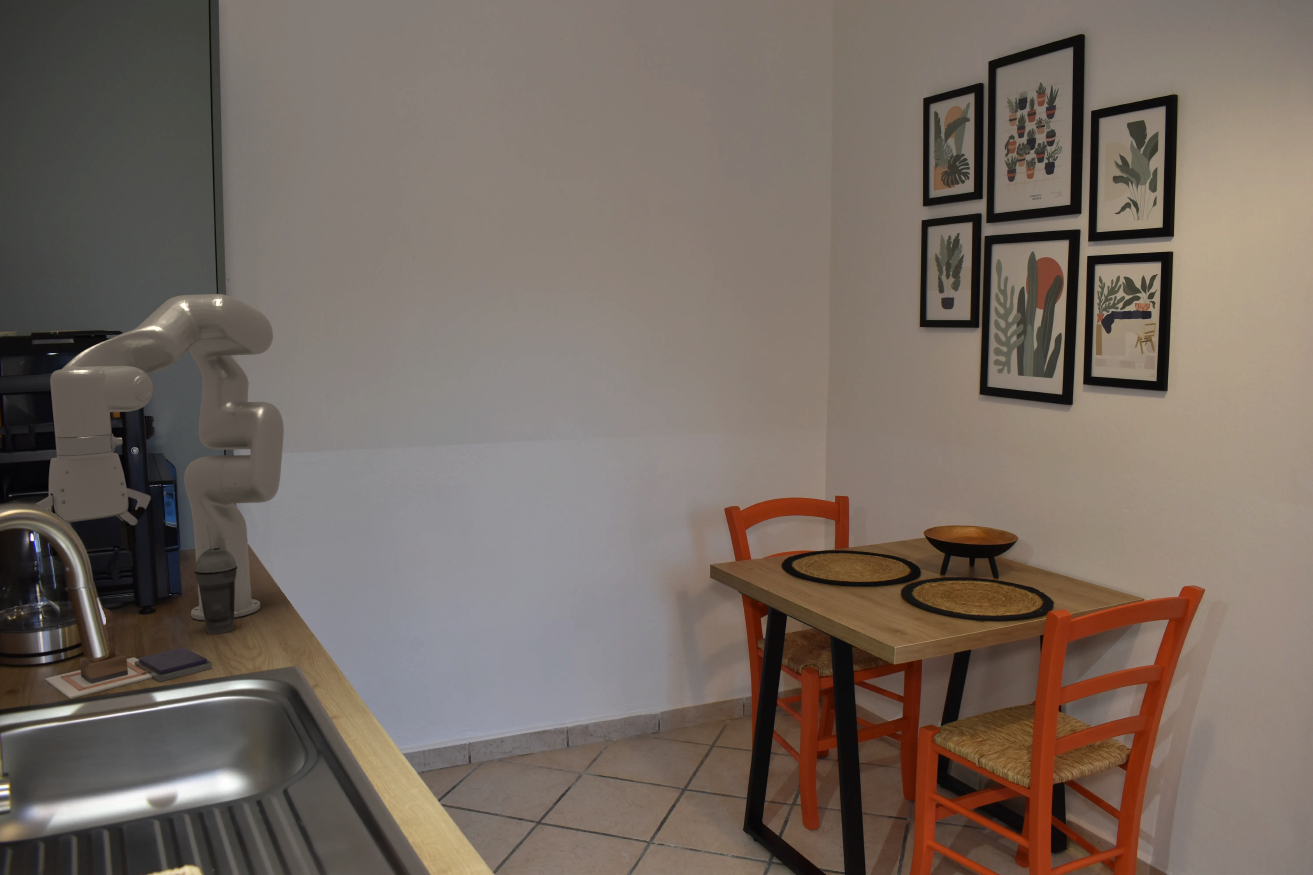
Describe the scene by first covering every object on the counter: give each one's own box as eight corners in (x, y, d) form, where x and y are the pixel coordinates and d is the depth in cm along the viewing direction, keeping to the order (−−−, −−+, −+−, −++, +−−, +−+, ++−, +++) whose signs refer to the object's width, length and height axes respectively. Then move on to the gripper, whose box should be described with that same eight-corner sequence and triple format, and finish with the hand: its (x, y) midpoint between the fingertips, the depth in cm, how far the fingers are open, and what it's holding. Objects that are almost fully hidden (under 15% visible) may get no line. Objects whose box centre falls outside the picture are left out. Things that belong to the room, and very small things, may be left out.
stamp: (81, 676, 147) (75, 609, 146) (117, 667, 151) (111, 602, 150) (91, 683, 143) (85, 614, 142) (128, 674, 147) (122, 607, 146)
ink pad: (135, 667, 152) (134, 657, 152) (185, 654, 158) (185, 645, 157) (159, 681, 144) (158, 671, 144) (212, 668, 150) (211, 658, 150)
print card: (45, 680, 147) (45, 676, 147) (134, 658, 156) (134, 655, 156) (69, 698, 138) (69, 695, 138) (162, 675, 147) (162, 672, 147)
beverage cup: (220, 637, 167) (212, 529, 166) (189, 634, 170) (181, 527, 168) (250, 626, 174) (243, 522, 172) (220, 623, 177) (213, 520, 175)
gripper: (136, 441, 153) (145, 542, 154) (13, 451, 140) (23, 561, 142) (153, 443, 148) (161, 547, 149) (26, 454, 135) (37, 568, 137)
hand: (94, 554), depth 145 cm, fingers open, 9 cm apart
